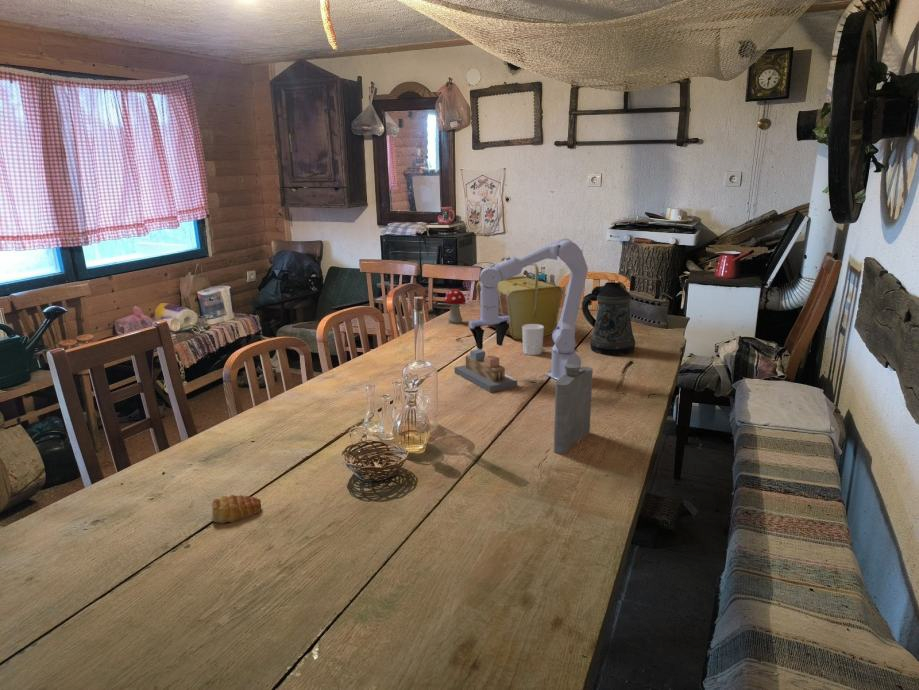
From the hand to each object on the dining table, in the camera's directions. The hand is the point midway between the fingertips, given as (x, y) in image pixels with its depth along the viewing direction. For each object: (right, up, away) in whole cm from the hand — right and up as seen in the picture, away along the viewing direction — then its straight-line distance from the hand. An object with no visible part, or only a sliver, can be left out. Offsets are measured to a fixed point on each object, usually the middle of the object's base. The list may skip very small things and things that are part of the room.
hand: (489, 346), depth 198 cm
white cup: (+17, -2, +29) cm, 34 cm away
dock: (-2, -11, +1) cm, 11 cm away
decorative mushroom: (-12, +10, +75) cm, 77 cm away
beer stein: (+46, -1, +31) cm, 55 cm away
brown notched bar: (-2, -9, 0) cm, 9 cm away
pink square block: (0, -6, -4) cm, 7 cm away
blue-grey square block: (-4, -4, +3) cm, 6 cm away
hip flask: (+18, -24, -45) cm, 54 cm away
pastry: (-55, -34, -75) cm, 99 cm away
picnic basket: (+15, +6, +60) cm, 62 cm away
